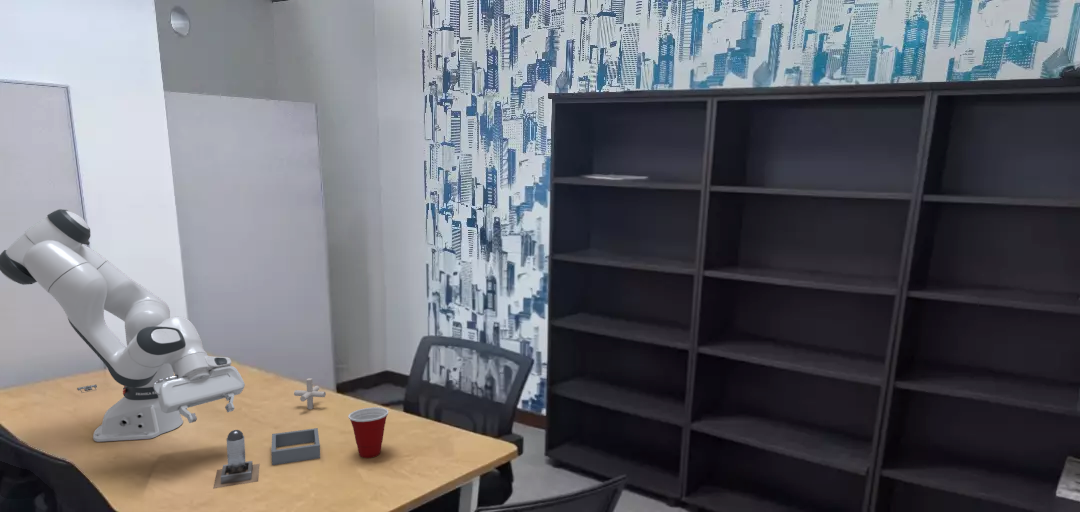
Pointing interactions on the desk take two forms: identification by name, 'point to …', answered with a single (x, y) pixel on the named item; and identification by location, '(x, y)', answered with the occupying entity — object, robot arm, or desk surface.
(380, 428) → the plastic cup
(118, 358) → the robot arm
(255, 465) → the socket plate
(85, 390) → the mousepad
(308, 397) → the pipe connector
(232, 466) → the strut
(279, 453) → the bin
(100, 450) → the desk surface
